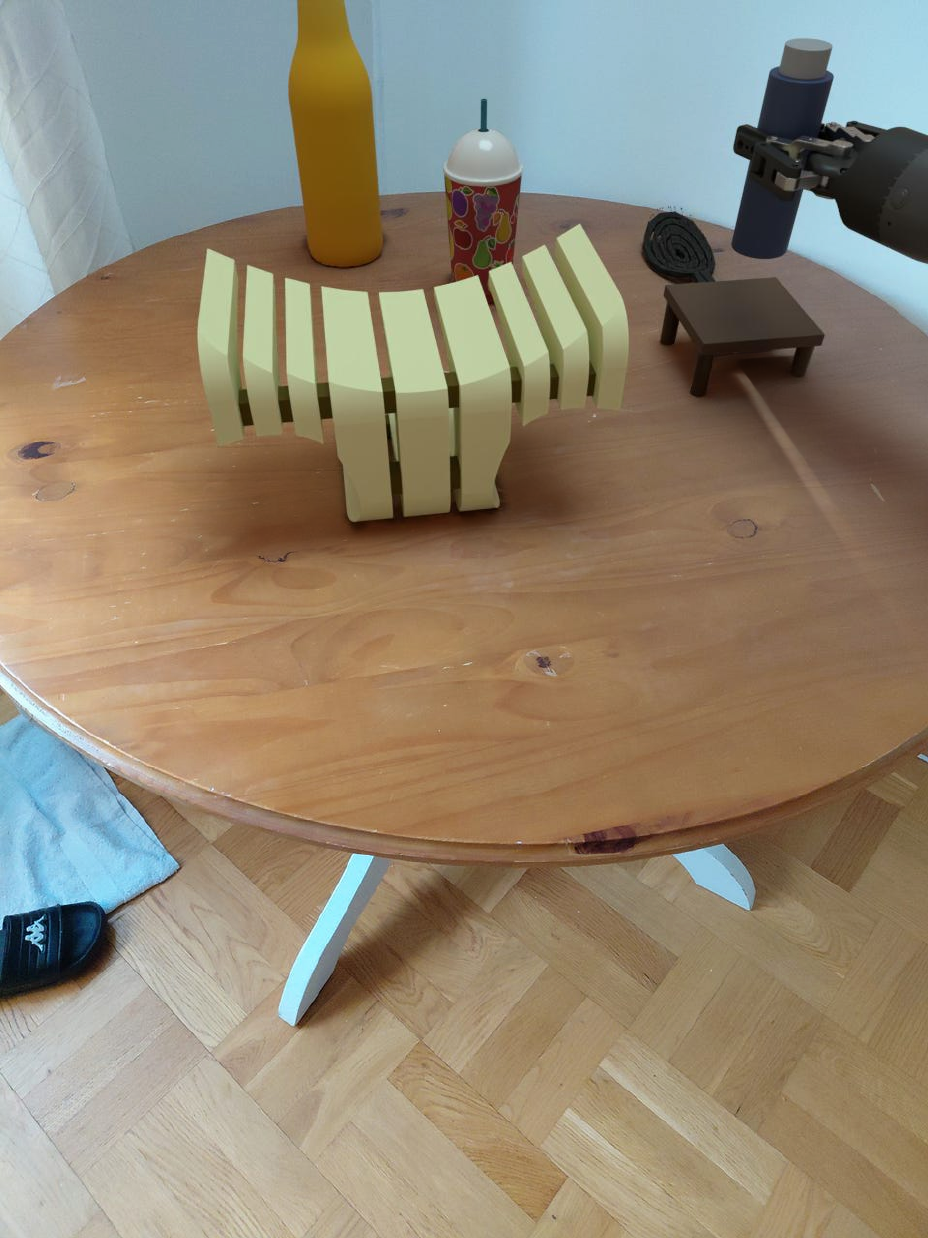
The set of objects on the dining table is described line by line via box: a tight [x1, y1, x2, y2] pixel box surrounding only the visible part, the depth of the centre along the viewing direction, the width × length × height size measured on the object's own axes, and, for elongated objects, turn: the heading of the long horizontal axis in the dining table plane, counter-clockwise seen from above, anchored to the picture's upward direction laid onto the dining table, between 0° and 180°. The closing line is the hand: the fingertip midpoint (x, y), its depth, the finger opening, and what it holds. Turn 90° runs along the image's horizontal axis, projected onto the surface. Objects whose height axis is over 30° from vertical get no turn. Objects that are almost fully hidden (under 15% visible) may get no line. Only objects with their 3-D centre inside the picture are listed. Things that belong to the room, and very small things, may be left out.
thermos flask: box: [730, 37, 835, 260], centre depth 73 cm, size 5×5×16 cm
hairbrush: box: [641, 205, 717, 283], centre depth 100 cm, size 8×4×25 cm
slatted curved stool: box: [197, 223, 630, 523], centre depth 70 cm, size 30×16×18 cm, turn 98°
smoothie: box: [442, 98, 524, 304], centre depth 92 cm, size 8×8×20 cm
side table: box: [659, 276, 826, 398], centre depth 87 cm, size 12×12×6 cm
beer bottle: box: [287, 0, 384, 268], centre depth 96 cm, size 9×9×29 cm
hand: (763, 131), depth 74 cm, fingers closed on thermos flask, 5 cm apart
